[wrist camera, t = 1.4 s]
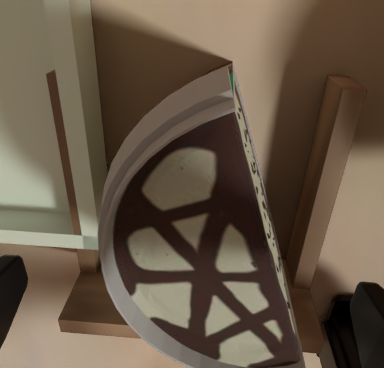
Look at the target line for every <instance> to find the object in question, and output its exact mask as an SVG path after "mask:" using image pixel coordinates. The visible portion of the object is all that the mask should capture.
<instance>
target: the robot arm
mask: <svg viewBox="0 0 384 368" xmlns="http://www.w3.org/2000/svg"><path fill="white" fill-rule="evenodd" d="M27 283H28V277H27V273H26V270H25V266H24V263H23V259H22V258H21V257H20V256H18V255H4V256H2V257H0V348H1V346H2V344H3V342H4V340H5V338H6V336H7V334H8V331H9V329H10V327H11V324H12V322H13V319H14V317H15V314H16V312H17V309H18V307H19V304H20V302H21V299H22V297H23V294H24V292H25V289H26V287H27ZM321 331H322V335H323V338H324V341H325V342H324V345H323V347H322V350H321V353H320V354H319V353H316V354H317V356H318V357H319V358H320V361H321V365H322V368H384V289H383V288H382V287H381V286H380V285H378V284H377V283H373V282H360V283H358V285H357V287H356V290H355V292H354V295H353V297H350V296H337V297H335V298H334V299H333V300H332V303H331V306H330V309H329V312H328V314H327V317H326V319H325V320H324V321H323V322H322V325H321Z"/></svg>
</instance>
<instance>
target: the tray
mask: <svg viewBox="0 0 384 368" xmlns="http://www.w3.org/2000/svg"><path fill="white" fill-rule="evenodd" d="M54 69H55V72H56V78H57V84H58V91H59V97H60V103H61V109H62V115H63V122H64V128H65V134H66V140H67V146H68V152H69V159H70V165H71V171H72V177H73V183H74V190H75V196H76V202H77V208H78V214H79V221H80V227H81V233H82V234H74V231H73V225H72V220H71V214H70V208H69V203H68V197H67V191H66V186H65V180H64V174H63V169H62V163H61V157H60V152H59V146H58V140H57V134H56V129H55V123H54V117H53V112H52V106H51V100H50V95H49V89H48V83H47V78H46V74H47V73H49V72H51V71H53V70H54ZM107 176H108V172H107V163H106V153H105V143H104V133H103V124H102V114H101V104H100V94H99V84H98V75H97V65H96V55H95V45H94V35H93V26H92V16H91V6H90V0H0V243H9V244H22V245H36V246H49V247H63V248H77V249H90V250H99V249H98V234H97V233H98V226H99V218H100V211H101V204H102V197H103V190H104V185H105V182H106V179H107Z"/></svg>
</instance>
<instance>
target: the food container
mask: <svg viewBox="0 0 384 368" xmlns="http://www.w3.org/2000/svg"><path fill="white" fill-rule="evenodd" d="M97 234H98V249H99V258H100V261H101V265H102V273H103V276H104V280H105V283H106V287H107V291H108V293H109V295H110V297H111V299H112V301H113V303H114V305H115V307H116V309H117V310H118V311H119V313H120V314H121V316H122V317H123V318H124V320H125V321H126V322H127V324H128V325H129V326H130V327H131V328H132V329H133V330H134V331H135V332H136V333H137V334H138V335H139V336H140V337H141V338H142V339H143V340H144V341H146V342H147V343H148V344H150V345H151V346H152V347H154V348H155V349H156V350H158V351H159V352H160V353H162V354H164V355H165V356H167V357H169V358H171V359H172V360H174V361H176V362H178V363H180V364H182V365H184V366H187V367H189V368H306V367H305V362H304V357H303V353H302V348H301V343H300V341H299V336H298V332H297V327H296V323H295V318H294V314H293V309H292V305H291V300H290V296H289V291H288V287H287V282H286V278H285V273H284V269H283V264H282V260H281V255H280V251H279V246H278V242H277V237H276V233H275V228H274V224H273V219H272V215H271V211H270V207H269V203H268V199H267V195H266V191H265V187H264V183H263V179H262V176H261V172H260V168H259V164H258V160H257V156H256V152H255V148H254V144H253V140H252V136H251V132H250V129H249V125H248V121H247V117H246V113H245V109H244V105H243V101H242V97H241V93H240V89H239V85H238V82H237V78H236V74H235V70H234V66H233V62H230V63H228V64H225V65H223V66H221V67H218V68H216V69H213V70H211V71H209V72H208V73H207V74H206V75H204V76H202V77H199V78H197V79H195V80H193V81H192V82H190V83H188V84H187V85H185V86H184V87H182V88H180V89H179V90H177V91H175V92H174V93H172V94H170V95H169V96H167V97H166V98H165V99H164V100H162V101H161V102H160V103H159V104H158V105H157V106H155V107H154V108H153V109H152V110H151V111H150V112H148V113H147V114H146V115H145V116H144V117H143V118H142V119H141V120H140V122H139V123H138V124H137V125H136V126H135V128H134V129H133V130H132V131H131V132H130V134H129V135H128V136H127V137H126V138H125V140H124V142H123V144H122V145H121V147H120V149H119V151H118V152H117V154H116V156H115V158H114V160H113V161H112V164H111V167H110V170H109V173H108V176H107V179H106V182H105V185H104V190H103V197H102V204H101V211H100V218H99V226H98V233H97Z"/></svg>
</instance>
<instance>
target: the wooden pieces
mask: <svg viewBox="0 0 384 368" xmlns="http://www.w3.org/2000/svg"><path fill="white" fill-rule="evenodd" d="M46 78H47V83H48V89H49V95H50V100H51V106H52V112H53V117H54V123H55V129H56V134H57V140H58V146H59V152H60V157H61V163H62V169H63V174H64V180H65V186H66V191H67V197H68V203H69V208H70V214H71V220H72V225H73V231H74V234H82V233H81V227H80V221H79V214H78V208H77V202H76V196H75V190H74V183H73V177H72V171H71V165H70V159H69V152H68V146H67V140H66V134H65V128H64V122H63V115H62V109H61V103H60V97H59V91H58V84H57V78H56V72H55V69H54V70H53V71H51V72H49V73H47V74H46ZM366 93H367V90H366V89H364V88H363V87H362V86H360V85H359V84H358V83H356V82H355V81H354V80H352V79H351V78H350V77H344V76H328V77H327V81H326V86H325V90H324V95H323V99H322V103H321V108H320V112H319V117H318V121H317V125H316V130H315V134H314V139H313V143H312V147H311V152H310V156H309V161H308V165H307V169H306V174H305V178H304V183H303V187H302V191H301V196H300V200H299V205H298V209H297V213H296V218H295V222H294V227H293V231H292V235H291V240H290V244H289V249H288V253H287V257H286V260H284V259H281V260H282V264H283V269H284V273H285V278H286V282H287V287H288V291H289V296H290V300H291V305H292V309H293V314H294V318H295V323H296V327H297V332H298V336H299V341H300V343H301V348H302V352H307V353H319V354H320V353H321V350H322V347H323V345H324V342H325V341H324V338H323V335H322V331H321V328H320V324H319V321H318V317H317V314H316V310H315V307H314V303H313V300H312V296H311V293H310V286H311V283H312V279H313V276H314V272H315V269H316V266H317V262H318V259H319V255H320V252H321V248H322V245H323V241H324V238H325V235H326V231H327V228H328V224H329V221H330V217H331V214H332V210H333V207H334V204H335V200H336V197H337V193H338V190H339V186H340V183H341V179H342V176H343V172H344V169H345V166H346V162H347V159H348V155H349V152H350V148H351V145H352V141H353V138H354V135H355V131H356V128H357V124H358V121H359V117H360V114H361V110H362V107H363V104H364V100H365V97H366ZM77 254H78V260H79V265H80V271H81V273H80V275H79V277H78V279H77V281H76V283H75V285H74V287H73V289H72V291H71V294H70V296H69V298H68V300H67V302H66V304H65V306H64V308H63V310H62V312H61V314H60V317H59V319H58V322H59V326H60V330H61V332H69V333H81V334H93V335H105V336H117V337H129V338H141V337H140V336H139V335H138V334H137V333H136V332H135V331H134V330H133V329H132V328H131V327H130V326H129V325H128V324H127V322H126V321H125V320H124V318H123V317H122V316H121V314H120V313H119V311H118V310H117V309H116V307H115V305H114V303H113V301H112V299H111V297H110V295H109V293H108V291H107V287H106V283H105V280H104V276H103V273H102V265H101V261H100V258H99V250H90V249H77ZM141 339H142V338H141Z"/></svg>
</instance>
